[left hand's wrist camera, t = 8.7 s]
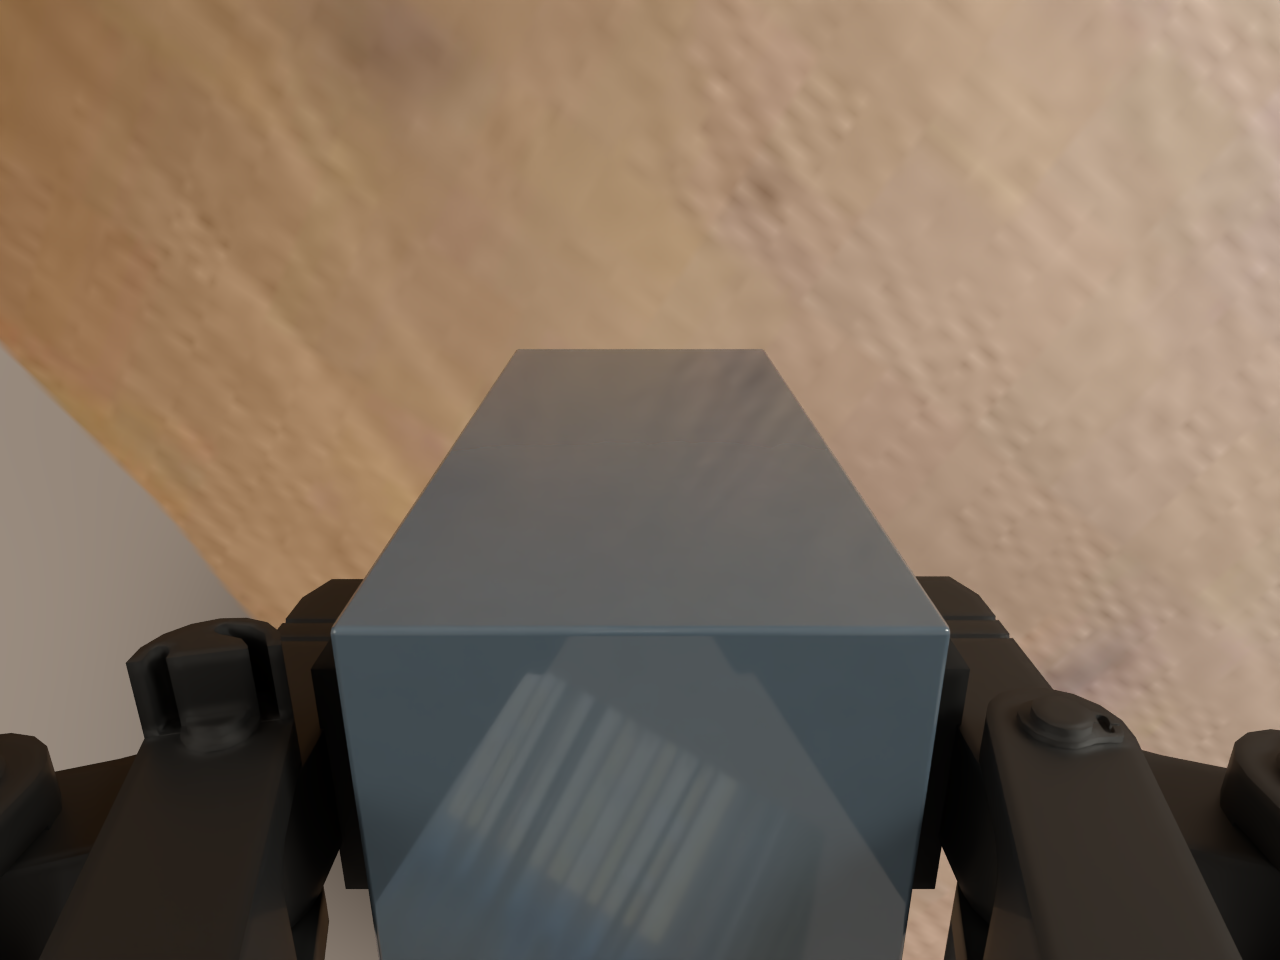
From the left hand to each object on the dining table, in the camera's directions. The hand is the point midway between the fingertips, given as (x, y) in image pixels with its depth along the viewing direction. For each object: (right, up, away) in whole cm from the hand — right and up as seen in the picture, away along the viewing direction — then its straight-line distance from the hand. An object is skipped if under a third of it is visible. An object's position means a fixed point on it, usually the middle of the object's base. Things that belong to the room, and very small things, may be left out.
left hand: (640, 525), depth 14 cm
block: (0, +1, +2) cm, 3 cm away
